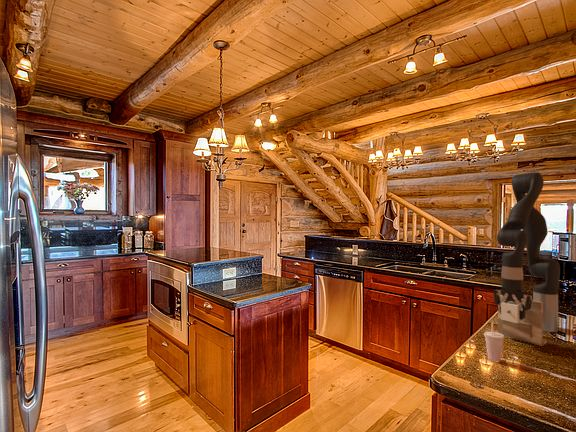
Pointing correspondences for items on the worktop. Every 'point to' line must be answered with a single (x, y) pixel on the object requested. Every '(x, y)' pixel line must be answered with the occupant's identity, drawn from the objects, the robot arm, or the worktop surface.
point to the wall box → (510, 312)
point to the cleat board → (525, 325)
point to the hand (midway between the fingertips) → (512, 317)
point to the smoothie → (494, 344)
